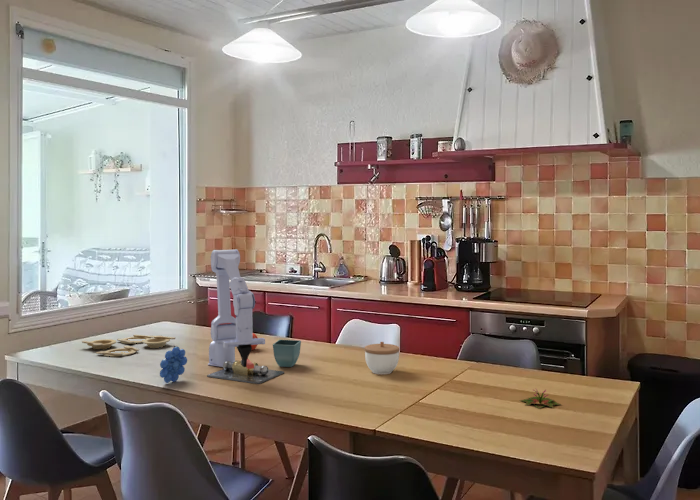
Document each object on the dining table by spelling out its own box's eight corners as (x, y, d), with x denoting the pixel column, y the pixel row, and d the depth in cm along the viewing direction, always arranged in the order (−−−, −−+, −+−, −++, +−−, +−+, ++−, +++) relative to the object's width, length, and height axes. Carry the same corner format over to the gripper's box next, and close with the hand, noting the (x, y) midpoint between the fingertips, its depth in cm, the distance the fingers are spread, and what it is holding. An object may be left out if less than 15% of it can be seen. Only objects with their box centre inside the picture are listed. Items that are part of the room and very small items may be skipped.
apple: (262, 349, 265) (262, 330, 265) (249, 352, 258) (249, 333, 258) (248, 347, 269) (247, 328, 269) (235, 350, 263) (234, 331, 262)
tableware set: (142, 337, 292) (142, 328, 292) (183, 345, 275) (183, 336, 275) (71, 351, 264) (71, 341, 264) (112, 360, 247) (112, 350, 247)
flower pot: (295, 369, 232) (294, 345, 231) (272, 367, 233) (272, 344, 233) (301, 363, 240) (301, 340, 240) (279, 362, 242) (279, 339, 241)
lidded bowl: (404, 369, 230) (404, 340, 229) (391, 378, 219) (392, 347, 218) (372, 366, 235) (372, 337, 235) (359, 374, 224) (359, 343, 223)
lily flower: (538, 413, 182) (538, 397, 182) (511, 401, 193) (511, 387, 193) (569, 407, 187) (570, 392, 187) (542, 396, 198) (542, 382, 198)
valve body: (207, 376, 221) (206, 364, 221) (234, 366, 235) (234, 355, 235) (259, 384, 211) (258, 371, 211) (284, 373, 226) (284, 361, 225)
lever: (240, 362, 225) (240, 357, 225) (248, 362, 226) (248, 356, 226) (246, 370, 215) (246, 364, 214) (255, 369, 216) (255, 364, 216)
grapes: (178, 376, 222) (177, 342, 221) (191, 378, 218) (191, 344, 217) (151, 383, 212) (151, 348, 211) (165, 386, 208) (164, 351, 208)
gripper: (226, 331, 210) (227, 371, 211) (267, 327, 217) (268, 366, 217) (221, 327, 216) (221, 366, 217) (261, 324, 223) (261, 362, 224)
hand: (244, 366), depth 218 cm, fingers closed, pressing on lever
